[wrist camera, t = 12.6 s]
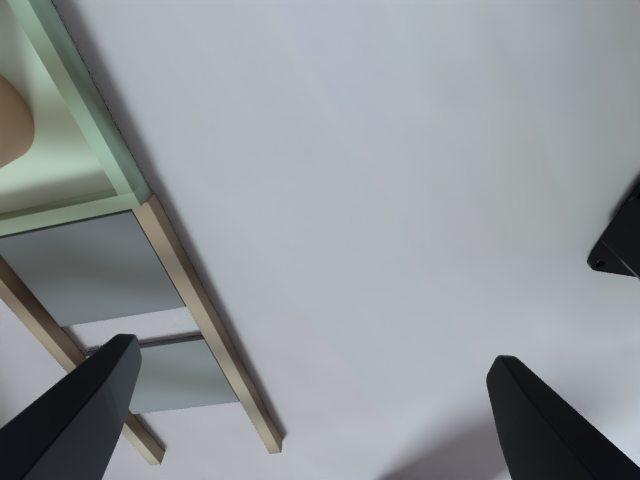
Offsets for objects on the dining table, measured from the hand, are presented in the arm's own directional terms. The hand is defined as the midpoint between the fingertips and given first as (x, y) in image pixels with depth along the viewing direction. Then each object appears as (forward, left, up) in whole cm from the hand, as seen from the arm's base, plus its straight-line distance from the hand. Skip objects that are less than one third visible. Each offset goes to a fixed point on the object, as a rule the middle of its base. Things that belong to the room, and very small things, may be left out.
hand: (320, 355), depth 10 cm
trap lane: (+12, +11, -12) cm, 20 cm away
